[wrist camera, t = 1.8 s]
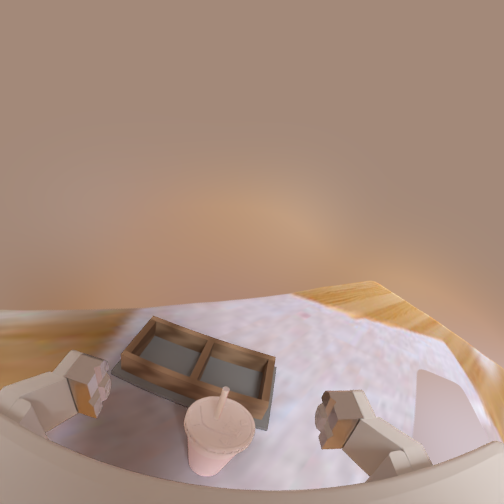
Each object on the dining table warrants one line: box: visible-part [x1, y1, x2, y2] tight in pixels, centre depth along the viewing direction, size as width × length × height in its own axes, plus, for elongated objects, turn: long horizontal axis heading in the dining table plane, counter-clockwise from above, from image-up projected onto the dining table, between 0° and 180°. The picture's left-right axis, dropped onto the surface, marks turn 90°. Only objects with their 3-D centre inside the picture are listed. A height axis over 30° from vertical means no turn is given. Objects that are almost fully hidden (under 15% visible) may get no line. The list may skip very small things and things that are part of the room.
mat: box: [111, 336, 276, 431], centre depth 38 cm, size 22×13×1 cm, turn 81°
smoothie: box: [184, 387, 255, 477], centre depth 23 cm, size 6×6×14 cm
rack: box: [121, 316, 275, 420], centre depth 38 cm, size 20×10×3 cm, turn 81°
